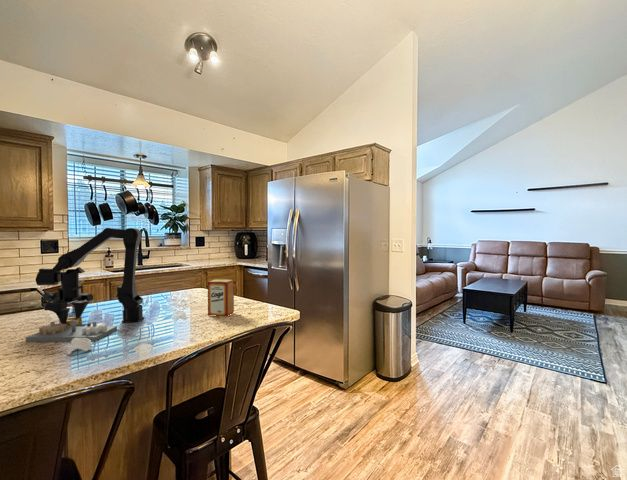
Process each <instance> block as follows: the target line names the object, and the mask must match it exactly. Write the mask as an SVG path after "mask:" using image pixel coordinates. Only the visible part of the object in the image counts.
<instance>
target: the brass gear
mask: <svg viewBox="0 0 627 480" xmlns="http://www.w3.org/2000/svg"><path fill="white" fill-rule="evenodd" d="M73 320H76V326H79V325H82V324H83V317H82V316H81V317H80V316H79V317H75V316H72V317H71V316H70V317H69V316H68V318H67V322H66V327H71V326H72V321H73ZM59 323H61V322H60V320H59V319H58V324H59Z"/></svg>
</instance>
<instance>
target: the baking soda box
mask: <svg viewBox="0 0 627 480" xmlns="http://www.w3.org/2000/svg"><path fill="white" fill-rule="evenodd" d="M234 283H235V281H234V279H213V280H212V279H211V280H209V281H207V316H208V315H216V316H215V317H219V316H228V315H230V314H232V313H233V312H234V313H235V310H234V309H235V302H234V301H235V299H234V297H235V296H234V295H235V290H234V285H235V284H234ZM234 313H233V314H234ZM233 314H232V315H233ZM230 316H231V315H230ZM228 317H229V316H228Z"/></svg>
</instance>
